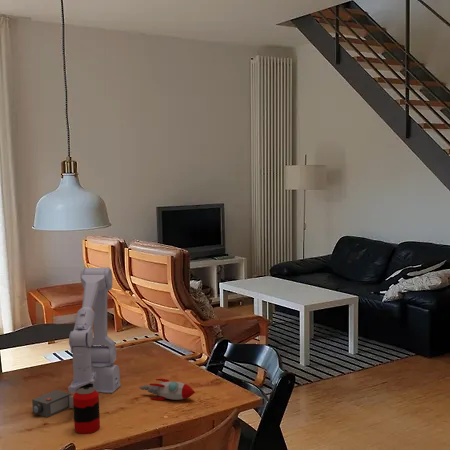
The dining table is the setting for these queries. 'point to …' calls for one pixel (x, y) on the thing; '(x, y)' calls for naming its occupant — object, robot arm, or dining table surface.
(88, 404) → the soda can
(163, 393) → the toy
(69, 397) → the side door
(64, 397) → the cam body
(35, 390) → the dining table surface
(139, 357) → the dining table surface
